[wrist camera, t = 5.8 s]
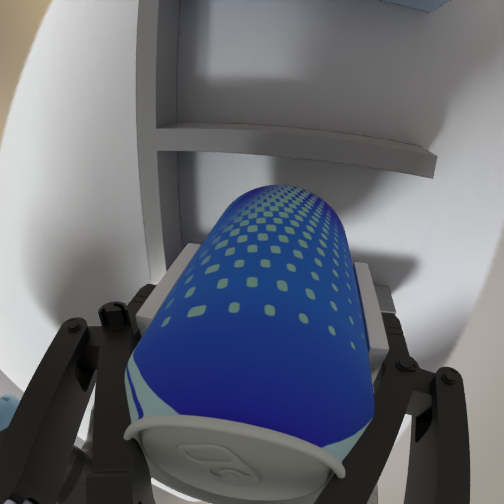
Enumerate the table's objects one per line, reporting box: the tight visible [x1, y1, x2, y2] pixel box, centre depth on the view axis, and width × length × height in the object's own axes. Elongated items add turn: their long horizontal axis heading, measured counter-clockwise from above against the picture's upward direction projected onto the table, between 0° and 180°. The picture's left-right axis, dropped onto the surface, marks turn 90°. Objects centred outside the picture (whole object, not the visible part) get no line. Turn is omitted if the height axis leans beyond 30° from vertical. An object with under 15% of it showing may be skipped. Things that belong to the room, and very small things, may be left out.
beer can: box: [124, 185, 375, 504], centre depth 14 cm, size 8×8×16 cm
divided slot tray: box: [136, 0, 450, 314], centre depth 19 cm, size 20×26×5 cm
